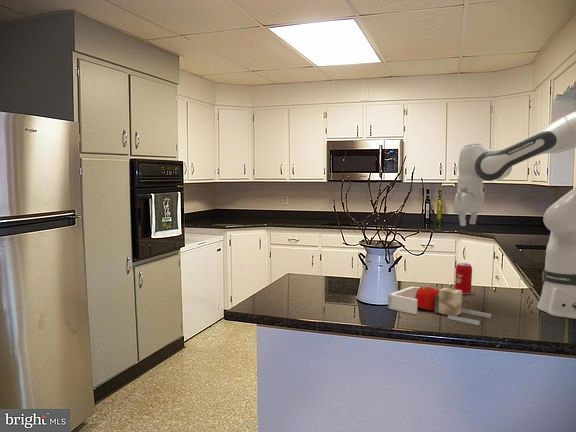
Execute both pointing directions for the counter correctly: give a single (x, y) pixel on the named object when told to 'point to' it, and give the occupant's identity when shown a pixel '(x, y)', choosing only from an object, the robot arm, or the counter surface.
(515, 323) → the counter surface
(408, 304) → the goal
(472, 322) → the track
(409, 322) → the counter surface
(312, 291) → the counter surface
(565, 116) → the robot arm
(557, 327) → the counter surface
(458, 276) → the beverage can
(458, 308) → the beige block
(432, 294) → the tomato
